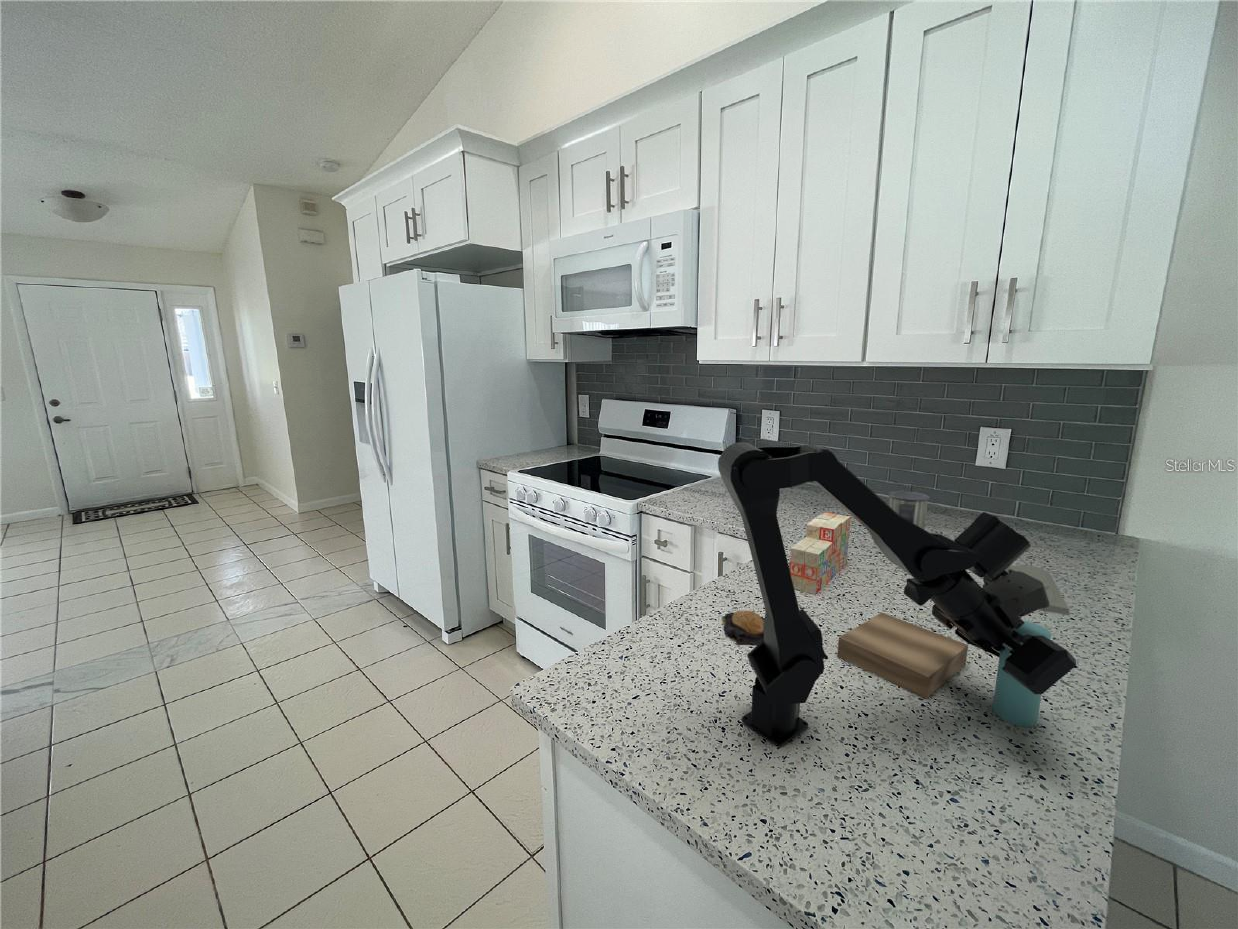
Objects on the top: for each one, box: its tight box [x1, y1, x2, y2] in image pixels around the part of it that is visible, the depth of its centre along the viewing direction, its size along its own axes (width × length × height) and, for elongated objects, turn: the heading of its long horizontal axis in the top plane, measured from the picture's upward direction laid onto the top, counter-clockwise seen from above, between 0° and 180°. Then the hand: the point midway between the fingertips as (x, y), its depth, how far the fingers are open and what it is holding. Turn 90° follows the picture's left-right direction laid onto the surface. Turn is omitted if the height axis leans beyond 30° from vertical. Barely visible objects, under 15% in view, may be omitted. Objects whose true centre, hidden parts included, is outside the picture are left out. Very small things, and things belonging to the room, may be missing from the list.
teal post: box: [991, 620, 1052, 728], centre depth 71 cm, size 5×5×13 cm
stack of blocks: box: [788, 512, 851, 595], centre depth 119 cm, size 21×6×12 cm, turn 140°
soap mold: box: [1000, 564, 1070, 616], centre depth 111 cm, size 10×20×4 cm, turn 149°
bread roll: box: [721, 610, 765, 647], centre depth 96 cm, size 11×8×4 cm
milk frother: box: [887, 490, 930, 530], centre depth 130 cm, size 14×16×15 cm
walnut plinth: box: [837, 612, 969, 699], centre depth 86 cm, size 14×14×4 cm
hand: (1030, 671), depth 71 cm, fingers closed on teal post, 5 cm apart
